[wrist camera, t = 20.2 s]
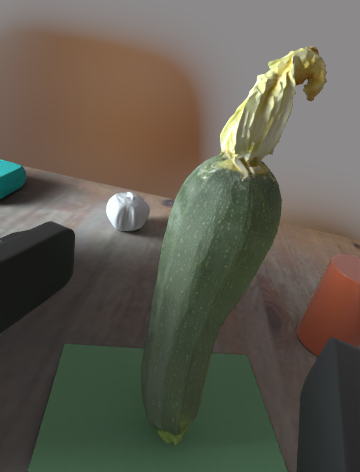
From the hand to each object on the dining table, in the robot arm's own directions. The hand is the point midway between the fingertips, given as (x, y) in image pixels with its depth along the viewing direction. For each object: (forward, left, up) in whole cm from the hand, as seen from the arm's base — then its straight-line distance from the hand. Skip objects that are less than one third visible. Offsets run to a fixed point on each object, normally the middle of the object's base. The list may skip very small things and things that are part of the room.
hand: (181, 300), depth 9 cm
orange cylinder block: (-6, -21, -13) cm, 25 cm away
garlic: (+20, -22, -13) cm, 33 cm away
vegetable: (+1, -5, -13) cm, 14 cm away
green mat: (+1, -5, -13) cm, 14 cm away
